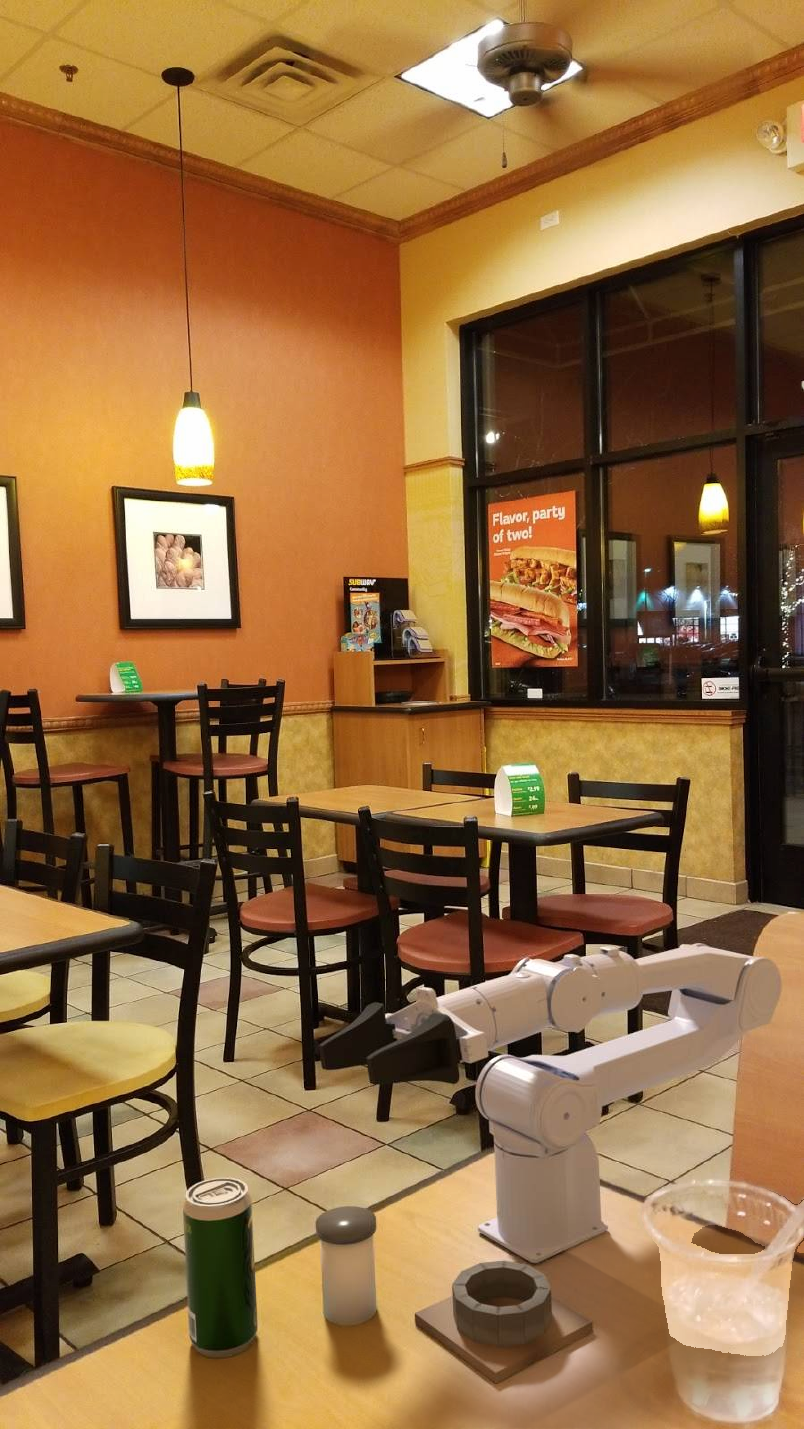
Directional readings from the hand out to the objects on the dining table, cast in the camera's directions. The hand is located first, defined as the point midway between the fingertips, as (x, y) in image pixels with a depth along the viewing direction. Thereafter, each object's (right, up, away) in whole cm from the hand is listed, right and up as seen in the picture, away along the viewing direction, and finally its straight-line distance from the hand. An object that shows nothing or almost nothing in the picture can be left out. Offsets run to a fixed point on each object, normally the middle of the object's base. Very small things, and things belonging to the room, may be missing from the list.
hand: (345, 1064), depth 91 cm
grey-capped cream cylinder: (0, -21, +1) cm, 21 cm away
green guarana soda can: (-9, -21, -2) cm, 24 cm away
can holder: (+13, -20, -2) cm, 24 cm away
